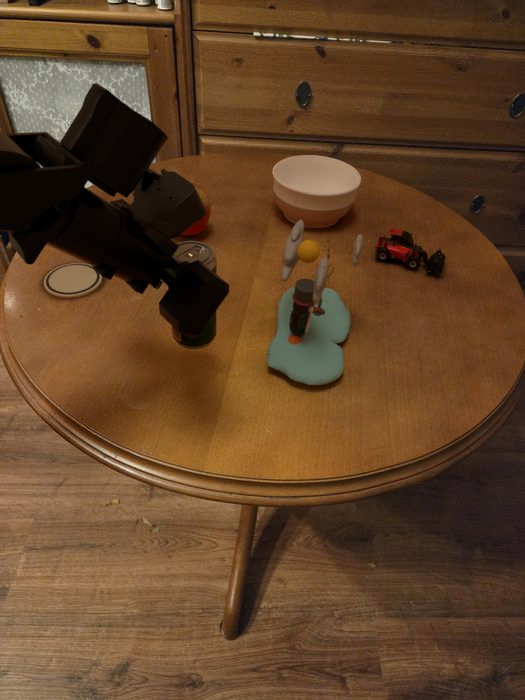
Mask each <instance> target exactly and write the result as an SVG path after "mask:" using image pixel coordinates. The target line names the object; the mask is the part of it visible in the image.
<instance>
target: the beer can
mask: <svg viewBox="0 0 525 700" xmlns="http://www.w3.org/2000/svg"><path fill="white" fill-rule="evenodd" d="M176 243H177V244H178V245H179V248H178V249H177V251H176V252H175V253H174V255H173V256H172V257H173V258H174V259H175V260H177V261H178V262H179V263H182V262H183V261H188V262H190V263H191V262H194V261H197V260H199V261H200V262H201V263H203V264H204V265H205V266H206V267H208V268H209V269H210V270H212V271H213V272H214V273H216V274H217V275H218V273H217V266H218V265H217V262H218V261H217V258H216V256H215V251H214V248H213V247H212V246H210V245H209V244H207V243H205V242H202V241H198V240H185V241H181V242H176ZM167 268H168V269H169V270H170V271H171V272H172V273H173V274H174V275H177V274H176V273H174V272H173V271H172V270H171V269H170V268H169V267H168V266H167ZM170 326H171V335H172V338H173V339H174V341H175V342H176V343H177V344H178V345H179V346H180V347H181V348H183V349H187V350H194V351H195V350H201V349H205V348H206V347H208V346H210V345H211V344H212V343H213V341H214V340H215V338H216V336H217V311H216V312H215V313H214V314H213V316H212V317H211V319H210V320H209V321H208V323H207V324H206V326H205V327H204V328H203V330H202V331H201V333H200V334H199V335H198V336H196V337H192V338H191V337H188V336H186V335H183V334H181V333H179V332H178V331H177V330H176V329H175V328H174V327H173V326H172V325H171V324H170Z"/></svg>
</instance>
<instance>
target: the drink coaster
mask: <svg viewBox="0 0 525 700" xmlns="http://www.w3.org/2000/svg"><path fill="white" fill-rule="evenodd" d="M43 279H44V280H43V286H44V289H45V290H46V292H48V294H50V295H52V296H54V297H57V298H62V299H73V298H80V297H84V296H87V295H89V294H90V293H93V292H94V291H96V290H97V289H98V288H99V287H100V286H101V284H102V282H103V277H102V276H101V275H100V274H99V273H98V272H97V271H96V270H95V269H94V267H93V266H92V265H90V264H87V263H85V262H72V263H66V264H63V265H60V266H57V267H55V268H53V269H51V271H49V272H48V273H47V274H46V275H45V277H44V278H43Z"/></svg>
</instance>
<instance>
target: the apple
mask: <svg viewBox="0 0 525 700" xmlns="http://www.w3.org/2000/svg"><path fill="white" fill-rule="evenodd" d="M191 183H192V184H193V185H194V186H195V188H196V190H197V192H198V194H199V196H200V198H201V200H202V202H203V204H204V206H205V208H206V214H205V216H204V217H203V218H202V219H201V220H200V221H196V222H195V223H194V224H192V225H191V226H190V227H189V228H188V229H187V230H185V231H184V232H183V233H182V234H181V235H183V236H194V235H198V234H199V233H201V232H203V231H204V229H205V228H206V227H207V225H208V224H209V220H210V219H211V218H210V217H211V211H212V201H211V198H210V196H209V194H208V192H206V190H205V189H204V188H203V187H201V186H200V185H198V184H196V183H195V182H191Z"/></svg>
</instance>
